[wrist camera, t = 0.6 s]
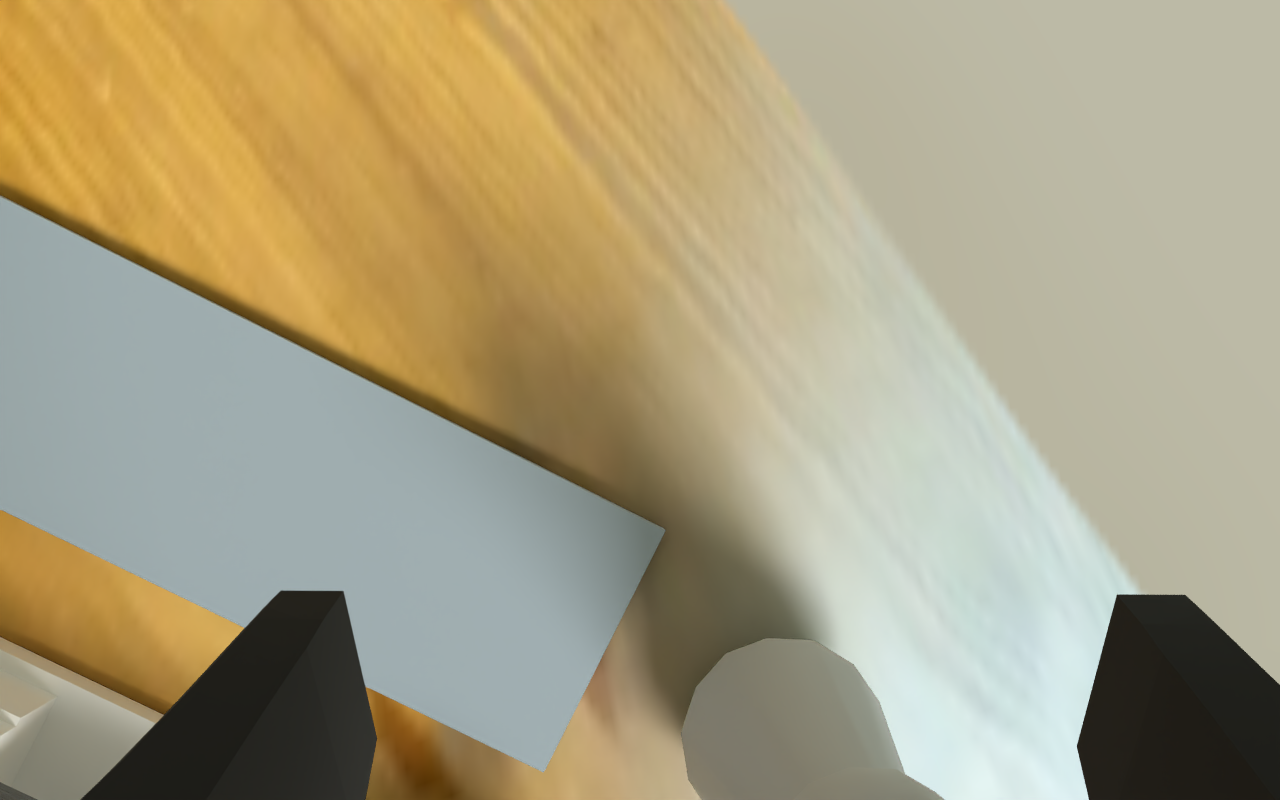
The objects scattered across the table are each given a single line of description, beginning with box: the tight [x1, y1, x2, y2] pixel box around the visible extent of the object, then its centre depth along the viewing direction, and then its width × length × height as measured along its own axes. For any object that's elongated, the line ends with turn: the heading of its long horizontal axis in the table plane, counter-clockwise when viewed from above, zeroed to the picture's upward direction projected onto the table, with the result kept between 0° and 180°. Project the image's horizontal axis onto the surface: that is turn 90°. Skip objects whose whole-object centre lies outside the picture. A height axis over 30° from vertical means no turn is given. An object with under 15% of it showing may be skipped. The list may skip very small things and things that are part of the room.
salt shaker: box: [681, 638, 944, 800], centre depth 28 cm, size 6×6×13 cm
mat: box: [0, 195, 666, 772], centre depth 33 cm, size 8×25×1 cm, turn 63°
